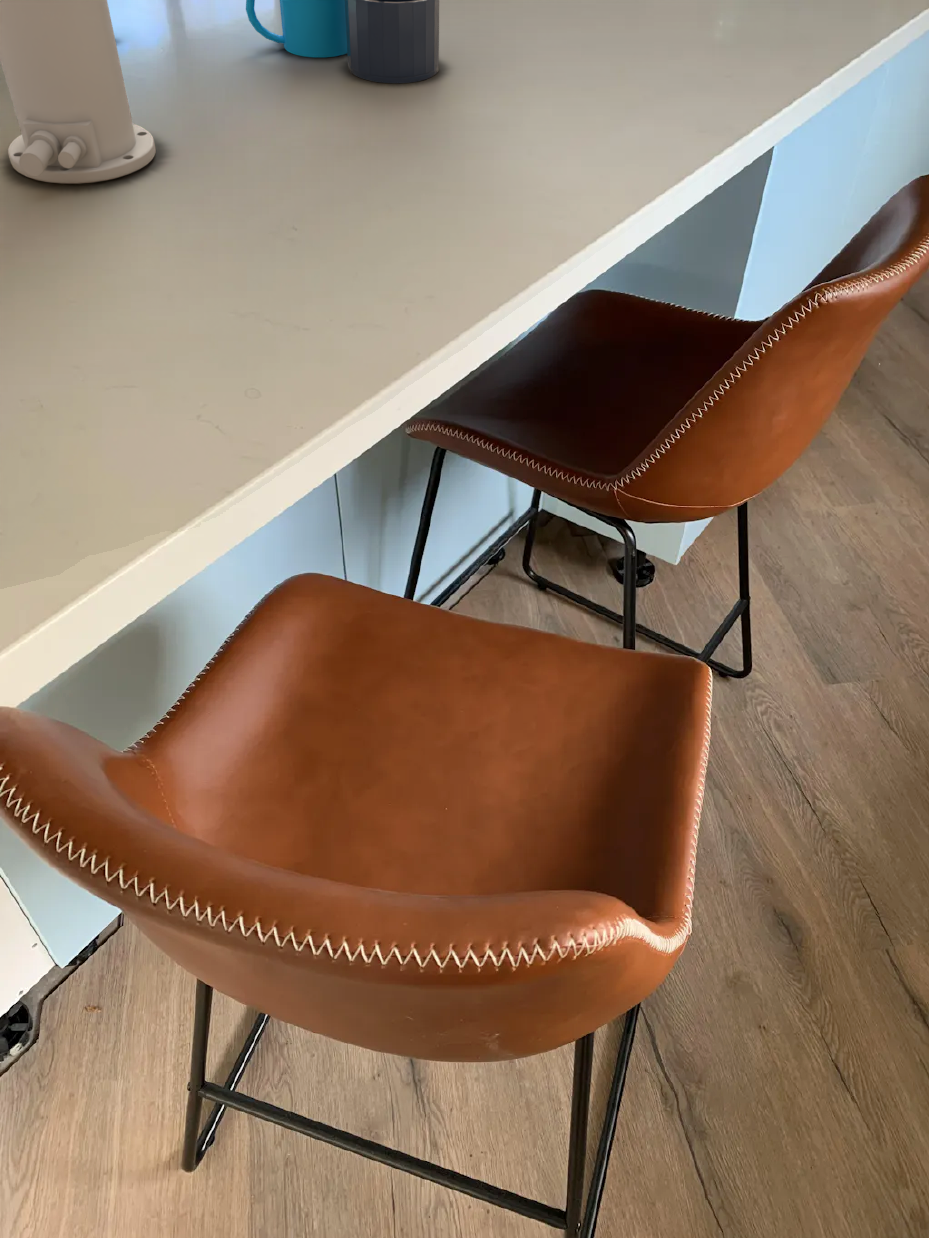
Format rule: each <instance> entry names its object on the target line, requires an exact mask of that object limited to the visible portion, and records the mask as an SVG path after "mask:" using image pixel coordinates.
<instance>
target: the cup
mask: <svg viewBox="0 0 929 1238" xmlns="http://www.w3.org/2000/svg"><path fill="white" fill-rule="evenodd" d="M345 18H346V37H347V53H346V55H347V67H348V70H349V72H350V73H351V74H352V75H354V76H355V77H357V78H359V79H363V80H366V81H370V82H375V83H382V84H409V83H410V84H411V83H416V82H421V81H425V80H428V79H431V78H432V77H434V76H436V75H437V74H438V73H439V69H440V68H439V67H440V66H439V63H440V0H345Z"/></svg>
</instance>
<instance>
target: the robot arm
mask: <svg viewBox="0 0 929 1238" xmlns="http://www.w3.org/2000/svg"><path fill="white" fill-rule="evenodd" d="M0 64H1V68H2V71H3V74H4V79H5V82H6V85H7V89H8V92H9V96H10V99H11V103H12V106H13V110H14V113H15V116H16V120H17V122H18V127H19V130H20V133H21V134H20V135H18V136H16V137H15V138H14V139H13V140H12V142H11V143H10V144H9V145H8V148H7V153H8V158H9V161H10V164H11V166H12V168H13V169H14V171H16V172H17V173H19V174H20V175H22V176H25V177H27V178H29V179H32V180H35V181H39V182H44V183H51V184H63V185H64V184H65V185H66V184H68V185H71V184H73V185H78V184H91V183H99V182H105V181H111V180H114V179H118V178H121V177H124V176H127V175H131V174H133V173H135V172H137V171H140V170H142V169H143V168H144V167H146V166H147V165H148V164H149V163H150V162H151V161H153V159H154V158H155V156H156V152H157V151H156V150H157V148H156V143H155V139H154V136H153V135H152V134H151V132H150V131H149V130H147V129H145V128H144V127H142V126H140V125H138V124H135V123H133V118H132V113H131V109H130V103H129V98H128V94H127V90H126V85H125V79H124V75H123V70H122V65H121V61H120V56H119V51H118V46H117V41H116V37H115V32H114V27H113V23H112V17H111V12H110V7H109V3H108V0H0Z"/></svg>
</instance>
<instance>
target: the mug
mask: <svg viewBox="0 0 929 1238" xmlns="http://www.w3.org/2000/svg"><path fill="white" fill-rule="evenodd" d="M255 3H256V0H245V12H246V15H247V19H248V21H249V23H250V24H251V25H252V27H253V28H254V30H255V31H256V32H257V33H258V34H260V35H261V36H262V37H264V38H265V39H267V40H269V41H271V42H275V43H277V44H283V48H284V49H285V50H286V52H288V53H291V54H293V55H296V56H299V57H305V58H333V57H334V58H335V57H338V56H344V55H347V37H346V18H345V0H279V9H280V18H281V19H280V20H281V30H282V34H281V35H280V34H277V33H275V32H272V31H270V30H269V29H267V28H266V27H265V26H263V24H262V23H261V22H260V20H259V18H258V17H257V13H256V10H255Z"/></svg>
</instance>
